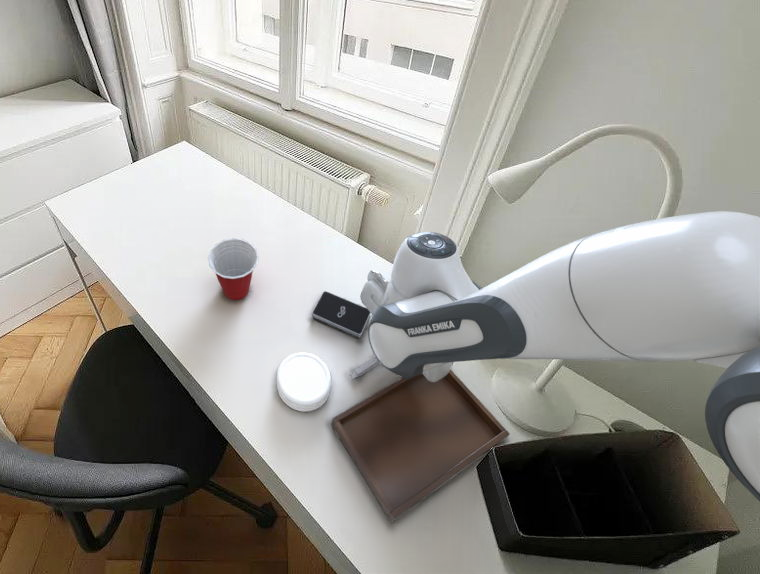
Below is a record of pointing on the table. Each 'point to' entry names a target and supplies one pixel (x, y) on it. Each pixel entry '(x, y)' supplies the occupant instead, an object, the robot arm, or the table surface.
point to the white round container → (303, 381)
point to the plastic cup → (233, 266)
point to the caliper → (364, 368)
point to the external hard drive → (341, 314)
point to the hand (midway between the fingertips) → (394, 348)
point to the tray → (416, 438)
